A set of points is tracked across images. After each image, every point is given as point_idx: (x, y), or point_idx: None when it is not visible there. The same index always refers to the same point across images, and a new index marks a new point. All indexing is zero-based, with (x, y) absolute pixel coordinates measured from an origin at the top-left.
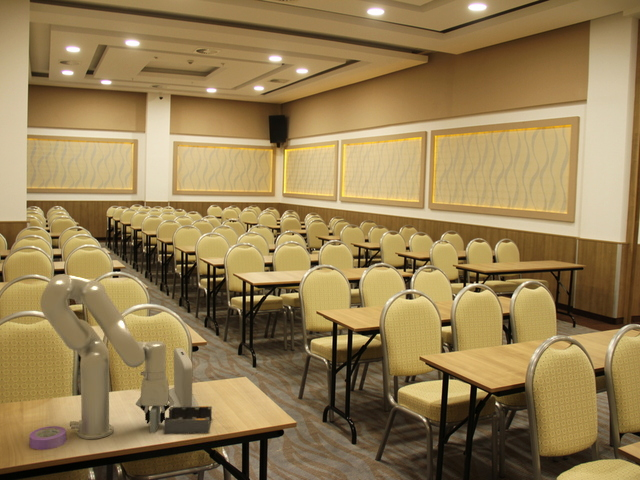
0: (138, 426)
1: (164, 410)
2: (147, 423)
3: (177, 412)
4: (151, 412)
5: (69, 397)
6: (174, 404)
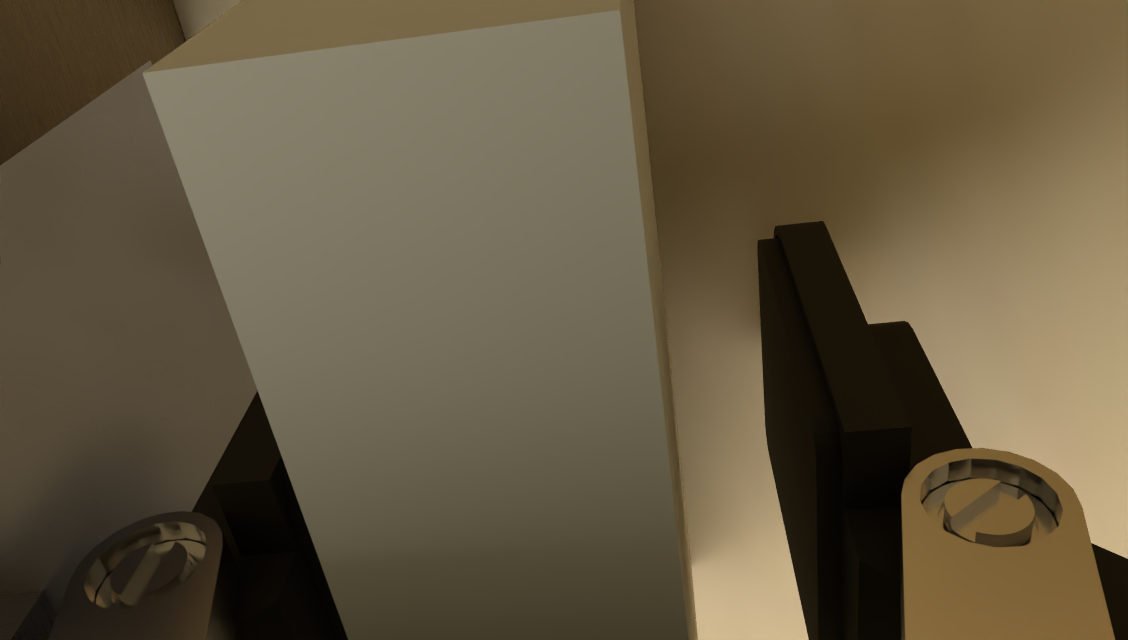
0: (1055, 263)
1: (70, 598)
2: (797, 230)
3: None
4: (480, 16)
5: None
6: None
